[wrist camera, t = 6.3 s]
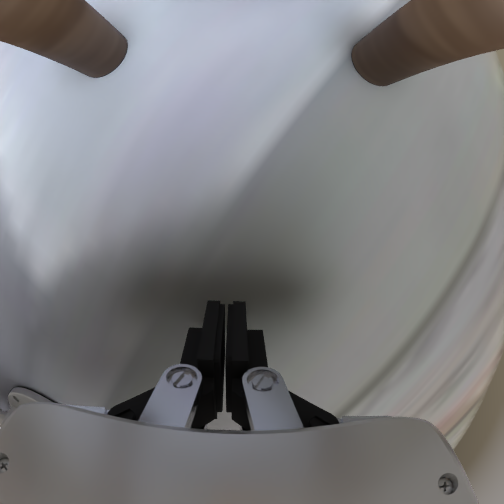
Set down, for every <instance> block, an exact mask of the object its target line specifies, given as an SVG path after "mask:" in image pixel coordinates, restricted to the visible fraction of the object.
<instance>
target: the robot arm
mask: <svg viewBox="0 0 504 504" xmlns="http://www.w3.org/2000/svg"><path fill="white" fill-rule="evenodd" d="M224 364H225V304H220V301H208V302H207V307H206V313H205V318H204V323H203V328H189V330H188V334H187V338H186V342H185V346H184V350H183V354H182V358H181V362H180V364H177V365H173V366H170V367H169V368H167V369H166V370H165V371H164V372H163V374H162V376H161V378H160V380H159V382H158V383H157V385H156V387H155V388H153V389H151V390H148V391H146V392H144V393H142V394H140V395H138V396H136V397H134V398H131V399H129V400H127V401H125V402H123V403H120V404H118V405H116V406H114V407H113V408H111V409H110V410H106V408H105V407H91V406H77V405H66V404H59V403H53V402H52V401H50V400H48V399H47V398H45V397H43V396H41V395H39V394H37V393H35V392H33V391H31V390H28V389H25V388H20V387H16V388H13V389H12V390H11V392H10V393H9V395H8V402H9V405H10V407H11V408H10V410H9V411H2V410H1V409H0V427H1V429H0V504H479V502H478V500H477V497H476V495H475V493H474V490H473V488H472V486H471V484H470V482H469V479H468V478H467V476H466V473H465V471H464V469H463V467H462V465H461V463H460V461H459V459H458V458H457V456H456V454H455V452H454V451H453V449H452V447H451V446H450V444H449V443H448V441H447V440H446V438H445V437H444V436H443V434H442V433H441V432H440V431H439V430H438V429H437V428H436V427H435V426H434V425H433V424H432V423H430V422H428V421H426V420H423V419H419V418H413V417H392V416H343V417H342V419H340V418H336V417H335V416H334V415H332V414H331V413H329V412H327V411H325V410H323V409H321V408H319V407H317V406H315V405H313V404H312V403H310V402H308V401H306V400H304V399H302V398H301V397H299V396H297V395H295V394H293V393H292V392H290V391H288V389H287V387H286V384H285V382H284V380H283V377H282V376H281V374H280V373H279V372H277V371H276V370H274V369H272V368H268V364H267V357H266V350H265V343H264V336H263V330H247V322H246V303H245V302H239V301H233V304H229V305H228V322H227V340H226V412H232V420H234V421H235V422H236V423H238V424H239V425H240V426H241V431H234V430H209V429H207V424H208V423H209V422H211V421H212V420H214V419H217V412H222V408H223V385H224Z"/></svg>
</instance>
